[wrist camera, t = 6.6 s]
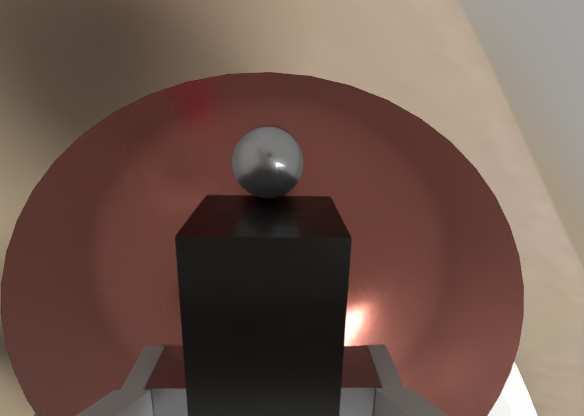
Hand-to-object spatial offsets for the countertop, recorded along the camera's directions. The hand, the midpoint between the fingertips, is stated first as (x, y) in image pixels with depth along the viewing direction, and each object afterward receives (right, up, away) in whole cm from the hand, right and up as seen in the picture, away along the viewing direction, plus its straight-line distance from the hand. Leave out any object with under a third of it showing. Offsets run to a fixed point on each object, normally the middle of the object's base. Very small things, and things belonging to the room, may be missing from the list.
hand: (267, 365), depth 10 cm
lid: (0, +1, +2) cm, 2 cm away
